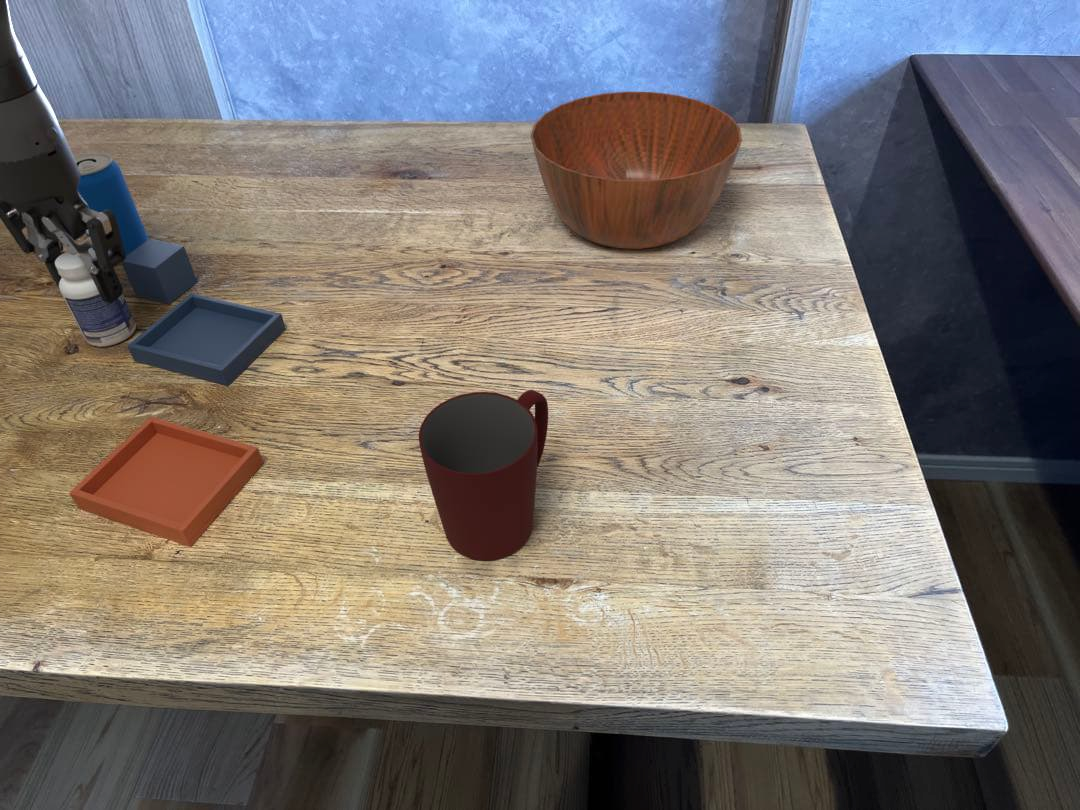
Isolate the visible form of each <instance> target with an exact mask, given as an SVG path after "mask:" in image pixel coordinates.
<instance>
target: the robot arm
mask: <svg viewBox="0 0 1080 810" xmlns="http://www.w3.org/2000/svg"><path fill="white" fill-rule="evenodd" d="M13 27H14V26H13V24H12V20H11V14H10V9H9V3H8V0H0V220H1V222H2V223H3V225H4V226H5V227H6V229H7V230H8V232H9V234H10V235H11V236H12V238H13V239H14V241H15V242H16V244H17V246H18V247H19V248H20V249H21V251H22V252H23V253H25V254H27V255H29V254H31V253H33V254H35V257H36V259H38V260H39V261H40V262H42V263H44V264H45V267H46V268H47V270H48V273H49V274H50V276H51V278H52V280H53V281H54V283H55V285H56V287H57V289H58V290H59V291H60V289H59V282H60V280H61V278H62V277H61V276H60V275H59V273H58V270H57V268H56V266H55V260H56V259H57V258H58V257H59V256H60V255H62V254H63V253H65V252H64V248H65V249H66V250H67V252H68V251H69V253H70V254H71V255H73V256H78V257H79V258H80V259H81V260H82V262H83V263H84V264H85V265H86V267H87V268H88V269H89V270H90V272H91V273H90V275H91V277H92V279H93V281H94V283H95V285H96V287H97V289H98V291H99V293H100V296H101V298H102V300H103V301H105V302H110V303H111V302H113V301H114V300H116V299H117V298H118V297H120V296H121V295H122V293H123V294H124V287H123V284H122V283H121V280H120V278H119V275H118V273H117V271H116V269H115V268H116V266H118V265H119V264H121V262H123V261H124V260H125V259H126V255H125V251H124V247H123V243H122V240H121V236H120V232H119V229H118V225H117V221H116V217H115V215H114V213H113V212H112V211H111V210H109V209H106V210H104V211H102V212H101V213H99V212H96V211H94V210H91V209H89V207H88V205H87V203H86V202H85V201H84V200H83V198H82V197H81V196H80V194H79V192H78V184H79V181H80V177H81V173H80V170H79V168H78V166H77V163H76V161H75V159H74V154H73V152H72V150H71V148H70V145H69V143H68V141H67V139H66V136H65V134H64V132H63V129H62V128H61V125H60V123H59V121H58V119H57V116H56V114H55V112H54V110H53V108H52V106H51V104H50V102H49V101H48V99H47V97H46V96H45V94H44V92H43V91H42V89H41V87H40V85H39V83H38V82H37V79H36V76H35V74H34V72H33V70H32V68H31V65H30V63H29V61H28V59H27V56H26V54H25V52H24V50H23V48H22V46H21V44H20V42H19V40H18V38H17V36H16V34H15V31H14V28H13ZM24 229H26V235H27V237H26V235H25V234H24V233H23V230H24ZM85 233H87V234H88V238H87V237H86V239H84V240H82V241H80V243H77V242H76V241H77V240H78V239H80V238H81V237H83V236H84V235H86V234H85ZM92 247H93V248H94V251H95V254H96V259H95V260H94V259H93V257H92V256H91V255H90V253H89V252H88V250H89V249H92ZM110 249H111V250H112V252H110V251H109V250H110Z"/></svg>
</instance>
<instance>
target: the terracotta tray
mask: <svg viewBox="0 0 1080 810" xmlns="http://www.w3.org/2000/svg"><path fill="white" fill-rule="evenodd" d="M263 465H264V460H263V458H262V455H261V452H260V449H259V447H258V446H254V445H251V444H247V443H244V442H240V441H237V440H234V439H230V438H228V437H223V436H221V435H217V434H213V433H210V432H206V431H204V430H199V429H196V428H192V427H189V426H186V425H182V424H178V423H175V422H172V421H168V420H164V419H161V418H158V417H154V416H149V417H148V418H147V419H146V420H145V421H144V422H143V423H142V424H141V425H140V426H138V427H137V428H136V430H134V431H133V432H132V433H131V434H130V435H129V436H128V437H126V438H125V440H124V441H123V442H121V443H120V444H119V445H118V447H116V448H115V449H114V450H113V451H112V452H111V453H109V455H108V456H106V458H104V459H103V460H102V461H101V462H100V463H99V464H98V465H97V466H96V467H95V468H94V469H93V470H91V472H90V473H89V474H87V475H86V476H85V477H84V478H83V479H82V480H81V481H80V482H79V483H78V484H76V486H74V487H73V488H72V489H71V490H70V491H69V492H68V494H69V496H70V497H71V499H72V500H73V502H74V504H75V505H76V507H77V508H78V509H79V510H82V511H84V512H88V513H90V514H93V515H97V516H99V517H103V518H105V519H108V520H111V521H113V522H117V523H119V524H123V525H125V526H128V527H131V528H134V529H137V530H140V531H142V532H145V533H149V534H151V535H155V536H157V537H161V538H164V539H165V540H166V539H167V540H170V541H172V542H175V543H177V544H181V545H184V546H187V547H189V548H191V547H192V546H193V545H194V544H195V543H196V541H197V540H198V539H199V538H200V537H201V536H202V535H203V534H204V532H206V530H207V529H208V528H209V527H210V525H211V524H212V523H213V522H214V521H215V520H216V519H217V517H218V516H219V515H220V514H221V513H222V512H223V511H224V509H226V507H227V506H228V505H229V504H230V503H231V502H232V501H233V499H235V497H236V496H237V495H238V494H239V492H240V491H241V490H242V488H244V486H245V485H246V484H247V483H248V482H249V481H250V480H251V479H252V477H253V476H254V475H255V474H256V473H257V471H259V469H260V468H261V467H262V466H263Z"/></svg>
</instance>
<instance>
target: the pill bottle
mask: <svg viewBox="0 0 1080 810" xmlns="http://www.w3.org/2000/svg"><path fill="white" fill-rule="evenodd" d="M88 252H89V253H90V255H91V256H92V257H93V259H94V260H95V259H96V254H95V251H94V250H93V249H92V248H90V249H89V250H88ZM55 266H56V268H57V270H58V273H59V275H60V276H61V277H62V278H61V280H60V282H59V289H60V290H59V289H58V290H59V291H60V294H61V296H62V297H63V300H64V302H65V304H66V305H67V307H68V309H69V311H70V313H71V314H72V317H73V318H74V321H75V323H76V325H77V327H78V329H79V331H80V333H81V335H82V337H83V338H84V340H85V342H87V344H89V345H90V346H93V347H98V348H106V347H110V346H115V345H118V344H120V343H122V342H124V341H126V340H127V339H129V338H130V337H132V335H133V334H134V333H135V331H136V328H137V323H136V320H135V318H134V316H133V313H132V311H131V309H130V307H129V305H128V303H127V300H126V298H125V296H124V292H123V293H122V295H121V296H120V297H118V298H117V299H116V300H114V301H113V302H111V303H110V302H105V301H103V300H102V298H101V296H100V293H99V291H98V289H97V287H96V285H95V283H94V281H93V279H92V277H91V275H90V273H91V272H90V270H89V269H88V268H87V267H86V265H85V264H84V263H83V262H82V260H81V259H80V258H79V257H78V256H73V255H71V254H70V253H69V251H68V250H67V251H65V252H64V253H63V254H62V255H60V256H59V257H58V258H57V259H56V260H55Z"/></svg>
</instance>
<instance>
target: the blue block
mask: <svg viewBox="0 0 1080 810" xmlns="http://www.w3.org/2000/svg"><path fill="white" fill-rule="evenodd" d="M120 264H121V267H122V269H123V272H124V274H125V275H126V279H127V280H128V282H129V285H130V286H131V289H132V292H133V294H134V296H135V298H139V299H143V300H148V301H151V302H155V303H159V304H164V305H168V306H170V305H171V304H173V303H174V302H175V301H176V300H178V299H179V298H181V296H182V295H183V294H185V293H186V292H187V291H189V290H190V289H191V288H192V287H194V285H196V284H197V283H198V279H197V277H196V274H195V272H194V269H193V266H192V263H191V261H190V258H189V255H188V253H187V250H186V247H185V245H181V244H176V243H173V242H168V241H162V240H158V239H153V238H149V240H148V241H146V242H145V243H144V244H142V245H141V246H139V247H138V248H137V249H135V250H134V251H133V252H131V253H130V254H128V255H127V256H126V259H125V260H124V261H123V262H120Z"/></svg>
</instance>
